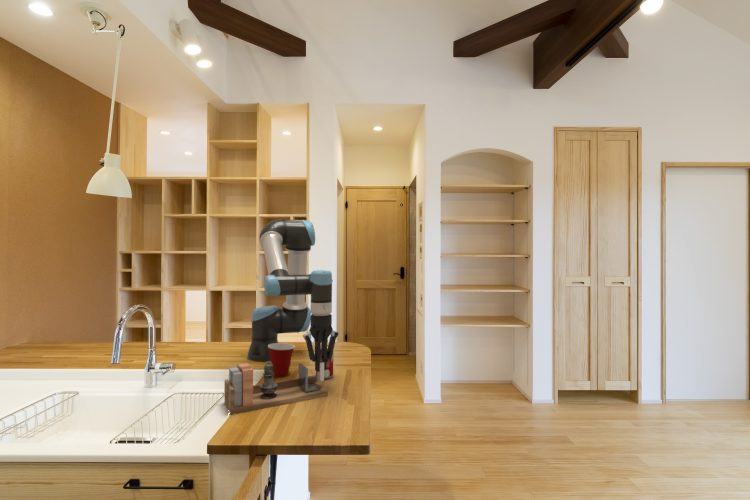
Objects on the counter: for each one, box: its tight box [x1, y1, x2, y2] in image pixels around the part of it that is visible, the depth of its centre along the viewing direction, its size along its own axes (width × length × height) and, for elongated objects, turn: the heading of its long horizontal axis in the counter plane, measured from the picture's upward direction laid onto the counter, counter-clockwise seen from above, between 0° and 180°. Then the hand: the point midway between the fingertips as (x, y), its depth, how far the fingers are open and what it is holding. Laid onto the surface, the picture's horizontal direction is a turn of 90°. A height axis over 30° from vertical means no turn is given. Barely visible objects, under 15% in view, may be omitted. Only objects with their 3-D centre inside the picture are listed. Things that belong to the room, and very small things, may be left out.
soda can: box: [315, 344, 334, 380], centre depth 157 cm, size 7×7×12 cm
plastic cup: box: [268, 342, 296, 378], centre depth 159 cm, size 11×11×12 cm
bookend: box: [297, 363, 321, 392], centre depth 140 cm, size 7×6×8 cm
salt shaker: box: [259, 361, 278, 399], centre depth 132 cm, size 6×6×12 cm
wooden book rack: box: [223, 361, 329, 415], centre depth 134 cm, size 11×32×12 cm, turn 121°
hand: (320, 379), depth 142 cm, fingers closed
